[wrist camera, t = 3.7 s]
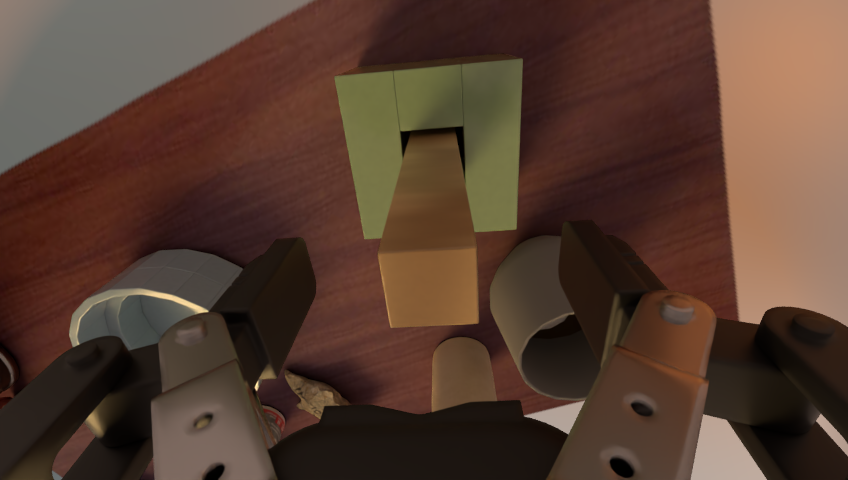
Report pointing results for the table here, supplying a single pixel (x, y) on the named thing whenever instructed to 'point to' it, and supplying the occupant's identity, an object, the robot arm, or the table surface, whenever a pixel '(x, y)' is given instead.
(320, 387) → the artifact
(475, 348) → the candle
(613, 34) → the table surface
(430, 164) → the stick
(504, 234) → the table surface
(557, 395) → the cup
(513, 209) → the stand
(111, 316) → the bowl
